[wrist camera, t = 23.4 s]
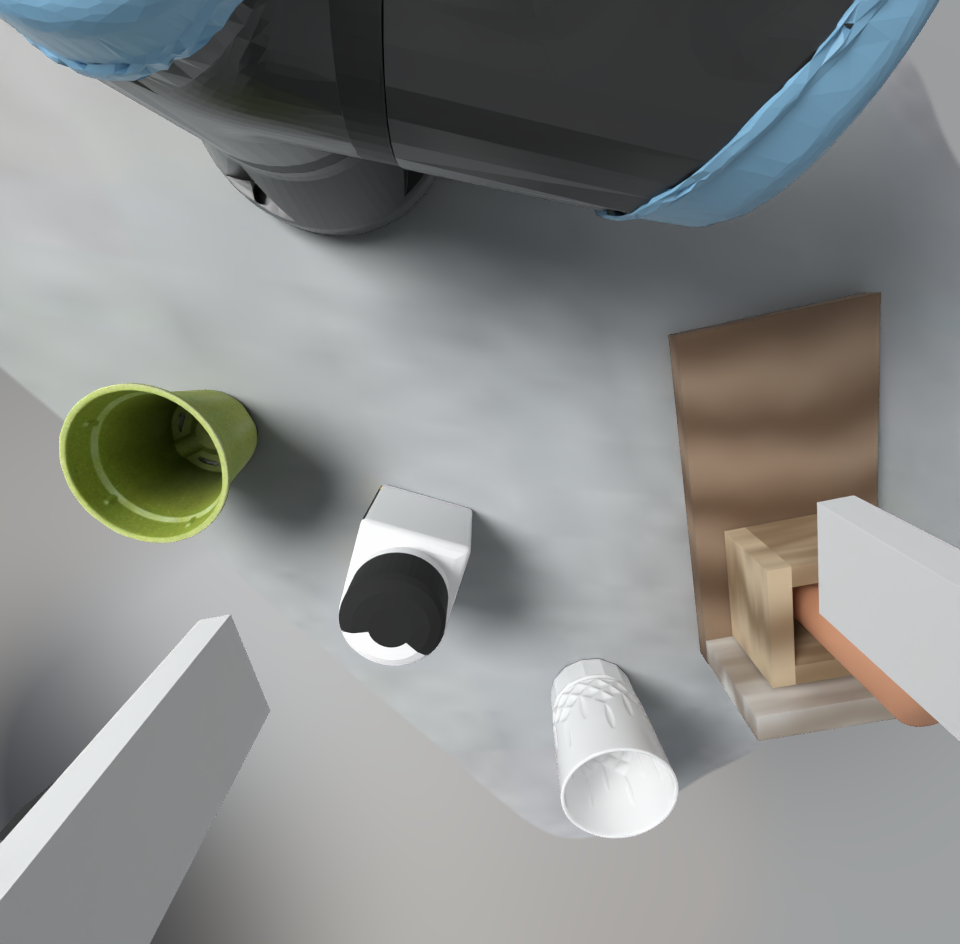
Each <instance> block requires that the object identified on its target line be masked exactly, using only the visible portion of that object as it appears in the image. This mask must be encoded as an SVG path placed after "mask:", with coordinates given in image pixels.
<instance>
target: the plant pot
mask: <svg viewBox="0 0 960 944" xmlns="http://www.w3.org/2000/svg"><path fill="white" fill-rule="evenodd" d="M182 413H183V414H185V419H184V423H183V428H182V431H181V430H180V429H179V424H178V422H179V417H180V415H181V414H182ZM256 445H257V431H256V426H255V423H254V422H253V420H252V419H251V417H250V416H249V414H248V412H247V411H246V409H245V408H244V406H243V405H242V404H241V403H240V402H239V401H238V400H236V399H235V398H233V397H231V396H230V395H228V394H225V393H223V392H219V391H214V390H194V391H175V392H170V391H167V390H164V389H161V388H158V387H155V386H150V385H145V384H135V383H126V384H117V385H111V386H107V387H103V388H100V389H98V390H96V391H94V392H92V393H90V394H88V395H87V396H85V397H84V398H82V399H81V400H80V401H79V402H78V403H76V404H75V406H74V407H73V408H72V409H71V411H70V412H69V414H68V415H67V417H66V419H65V421H64V424H63V426H62V430H61V433H60V438H59V456H60V462H61V467H62V470H63V472H64V476H65V478H66V481H67V484H68V486H69V487H70V489H71V491H72V493H73V494H74V496H75V497H76V499H77V500H78V501H79V503H80V504H81V505H82V506H83V508H84V509H85V510H86V511H88V512H89V513H90V514H91V515H92V516H93V517H94V518H95V519H97V520H98V521H100V522H101V523H103V524H104V525H105V526H106V527H108V528H110V529H111V530H113V531H115V532H117V533H119V534H121V535H124V536H127V537H129V538H134V539H136V540H140V541H145V542H156V543H168V542H176V541H180V540H183V539H186V538H189V537H192V536H194V535H196V534H198V533H200V532H201V531H203V530H204V529H206V528H207V527H208V526H209V525H210V524H211V523H212V522H213V521H214V520H215V519H216V518H217V516H218V515H219V513H220V512H221V510H222V509H223V507H224V505H225V502H226V500H227V497H228V493H229V487H230V483H231V482H232V481H233V480H234V479H235V477H236V476H237V475H238V474H239V472H240V471H241V470H242V469H243V468H244V466H245V465H246V464H247V462H248V461H249V460H250V459H251V457H252V455H253V453H254V451H255V449H256ZM200 457H203V458H205V459H208V460H211V461H214V462H218V465H216V466H214V465H211V464H205V463H203V462H201V461H200V459H199V458H200Z"/></svg>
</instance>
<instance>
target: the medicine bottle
mask: <svg viewBox="0 0 960 944" xmlns="http://www.w3.org/2000/svg"><path fill="white" fill-rule="evenodd" d="M471 531H472V511H471V509H469V508H466V507H463V506H459V505H456V504H452V503H449V502H445V501H442V500H438V499H435V498H431V497H428V496H424V495H421V494H417V493H414V492H410V491H406V490H403V489H399V488H396V487H392V486H389V485H382V486H381V487H380V488H379V490H378V492H377V494H376V495H375V497H374V499H373V501H372V503H371V505H370V506H369V508H368V510H367V512H366V514H365V515H364V517H363V519H362V521H361V523H360V527H359V531H358V535H357V539H356V543H355V547H354V551H353V555H352V559H351V562H350V566H349V570H348V574H347V578H346V582H345V586H344V590H343V594H342V598H341V602H340V605H339V623H340V628H341V631H342V633H343V636H344V637H345V639H346V641H347V642H348V643H349V645H350V646H351V647H352V648H353V649H354V650H355V651H356V652H358V653H359V654H360V655H362V656H363V657H365V658H367V659H369V660H371V661H373V662H376V663H380V664H384V665H405V664H410V663H413V662H416V661H418V660H421V659H423V658H424V657H426V656H427V655H429V654H430V653H431V652H432V651H433V650H434V649H435V648H436V647H437V646H438V644H439V643H440V641H441V639H442V637H443V635H444V632H445V629H446V626H447V623H448V620H449V617H450V614H451V611H452V607H453V604H454V601H455V598H456V595H457V592H458V589H459V586H460V583H461V580H462V577H463V574H464V571H465V568H466V565H467V562H468V559H469V556H470V553H471Z"/></svg>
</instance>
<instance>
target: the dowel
mask: <svg viewBox="0 0 960 944" xmlns="http://www.w3.org/2000/svg"><path fill="white" fill-rule="evenodd" d="M792 597H793V617H794V618H795V619H796V620H797V621H798V622H799V623H800V624H801V625H802V626H803V627H804V628H805V629H806V630H807V631H808V632H809V633H810V634H811V635H812V636H813V637H814V638H815V639H816V640H817V641H818V642H819V643H820V644H821V645H822V646H823V647H824V648H825V649H826V650H827V651H828V652H829V653H830V654H832V655H833V656H834V657H835V658H836V659H837V660H838V661H839V662H840V663H841V664H842V665H843V666H844V667H845V668H846V669H847V670H848V671H849V672H850V673H851V674H852V675H853V676H854V677H855V678H856V679H857V680H858V681H859V682H860V683H861V684H862V685H863V686H864V687H865V688H866V689H867V690H868V691H869V692H870V693H871V694H872V695H873V696H874V697H875V698H876V699H877V700H878V701H879V702H880V703H881V704H882V705H883V706H884V707H885V708H886V709H887V710H888V711H889V712H890V713H891V714H892V715H893V716H894V717H895V718H897V719H898V720H899V721H900V722H902V723H904V724H906V725H910V726H915V727H918V726H919V727H921V726H930V725H934V724H937V723H939V722H938V721H937V720H936V719H935V718H933V717H932V716H931V715H930V714H929V713H928V712H927V711H926V710H925V709H924V708H923V707H921V706H920V705H919V704H918V703H917V702H916V701H915V700H914V699H913V698H912V697H910V696H909V695H908V694H907V693H906V692H905V691H904V690H903V689H902V688H901V687H900V686H898V685H897V684H896V683H895V682H894V681H893V680H892V679H891V678H890V677H889V676H887V675H886V674H885V673H884V672H883V671H882V670H881V669H880V668H879V667H878V666H877V665H875V664H874V663H873V662H872V661H871V660H870V659H869V658H868V657H867V656H866V655H865V654H863V653H862V652H861V651H860V650H859V649H858V648H857V647H856V646H855V645H854V644H852V643H851V642H850V641H849V640H848V639H847V638H846V637H845V636H844V635H843V634H842V633H840V632H839V631H838V630H837V629H836V628H835V627H834V626H833V625H832V624H831V623H829V622H828V621H827V620H826V619H825V618H824V617H823V616H822V615H821V614H820V613H819V583H815V584H809V585H804V586H798V587H793V588H792Z"/></svg>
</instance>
